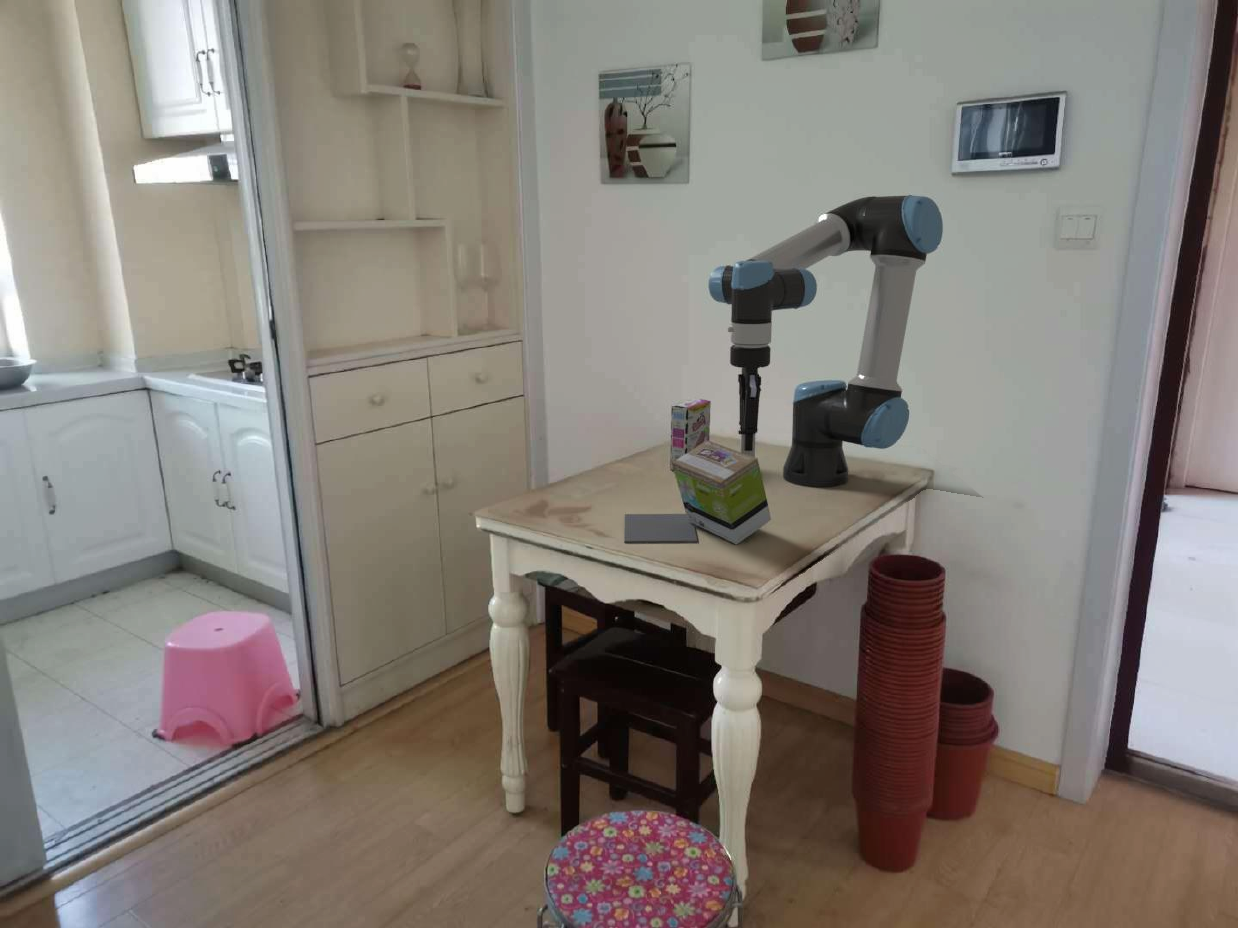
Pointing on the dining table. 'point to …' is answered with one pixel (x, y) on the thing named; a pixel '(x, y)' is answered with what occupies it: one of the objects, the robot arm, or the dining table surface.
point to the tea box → (722, 491)
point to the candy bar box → (689, 427)
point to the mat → (659, 528)
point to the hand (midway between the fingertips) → (747, 465)
